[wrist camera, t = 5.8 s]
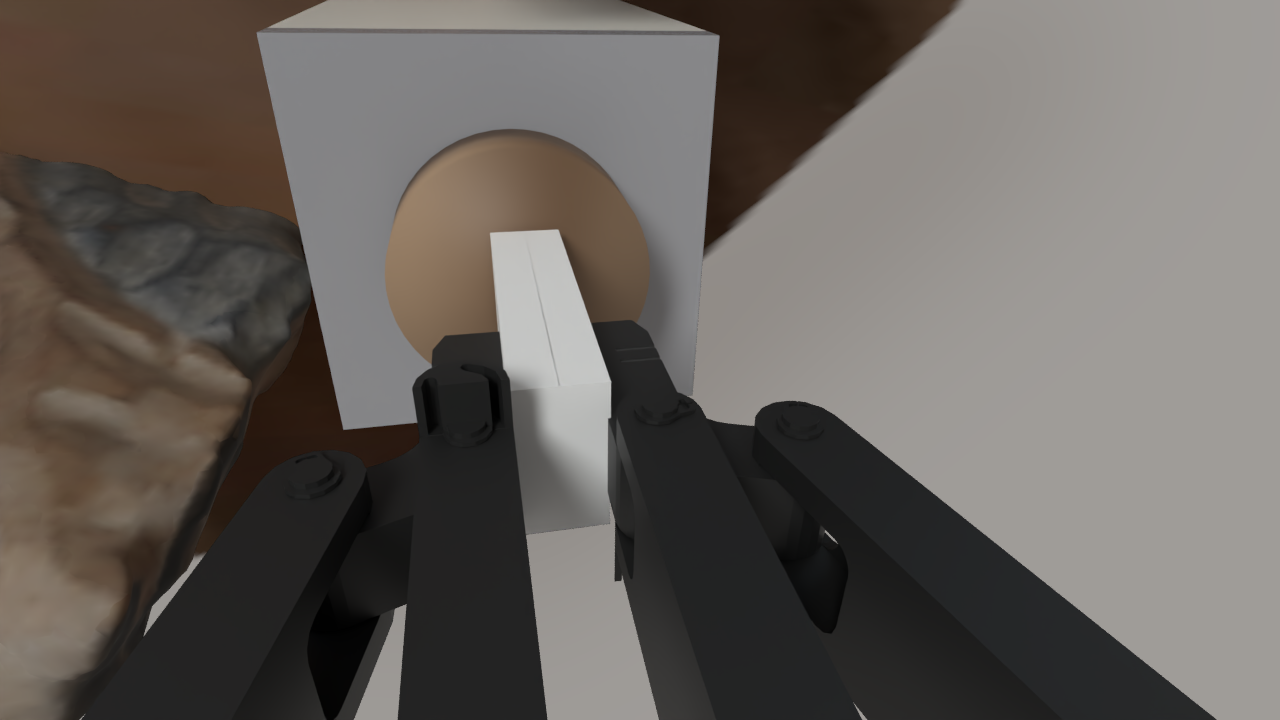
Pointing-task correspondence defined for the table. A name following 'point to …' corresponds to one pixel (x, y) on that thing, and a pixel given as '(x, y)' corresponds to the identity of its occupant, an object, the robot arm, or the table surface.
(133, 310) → the owl
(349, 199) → the short press
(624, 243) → the tan rounded piece
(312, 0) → the table surface
